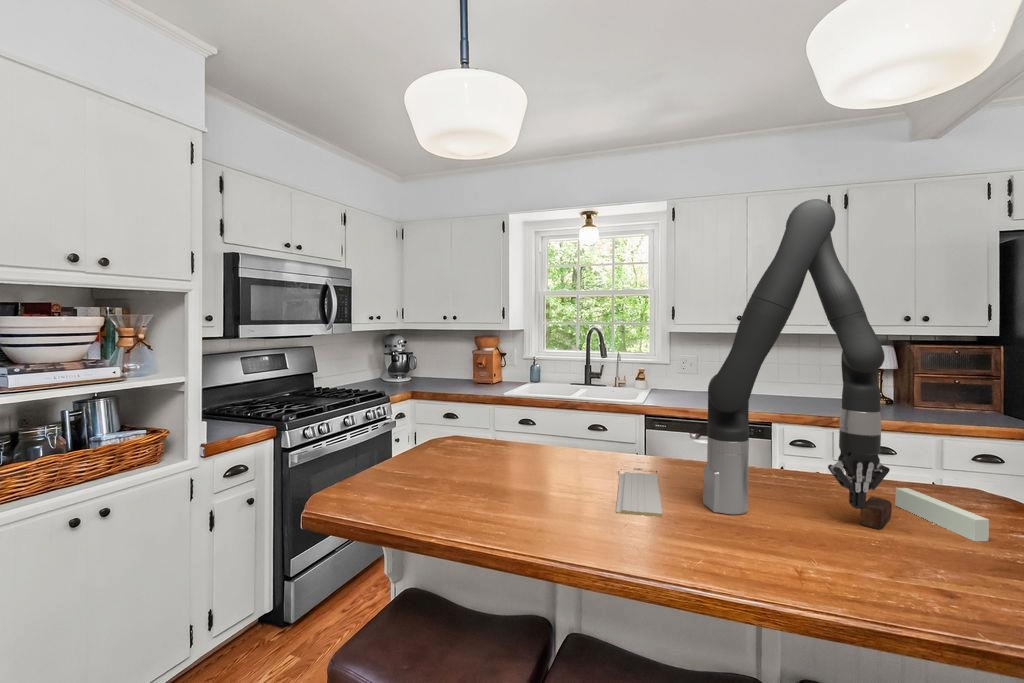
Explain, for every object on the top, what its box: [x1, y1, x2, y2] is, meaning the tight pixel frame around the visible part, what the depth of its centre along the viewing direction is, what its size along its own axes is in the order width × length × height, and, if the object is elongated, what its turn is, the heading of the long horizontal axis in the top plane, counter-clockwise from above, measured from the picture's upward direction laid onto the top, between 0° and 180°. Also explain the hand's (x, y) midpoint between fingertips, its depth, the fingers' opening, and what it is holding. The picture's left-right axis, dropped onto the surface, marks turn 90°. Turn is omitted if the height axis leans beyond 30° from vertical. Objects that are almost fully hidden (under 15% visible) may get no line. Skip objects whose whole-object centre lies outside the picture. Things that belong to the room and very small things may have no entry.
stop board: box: [894, 487, 990, 542], centre depth 113 cm, size 3×20×4 cm, turn 3°
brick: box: [860, 495, 893, 530], centre depth 113 cm, size 11×4×5 cm, turn 133°
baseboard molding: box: [615, 468, 663, 518], centre depth 132 cm, size 31×3×12 cm
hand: (857, 507), depth 111 cm, fingers closed
